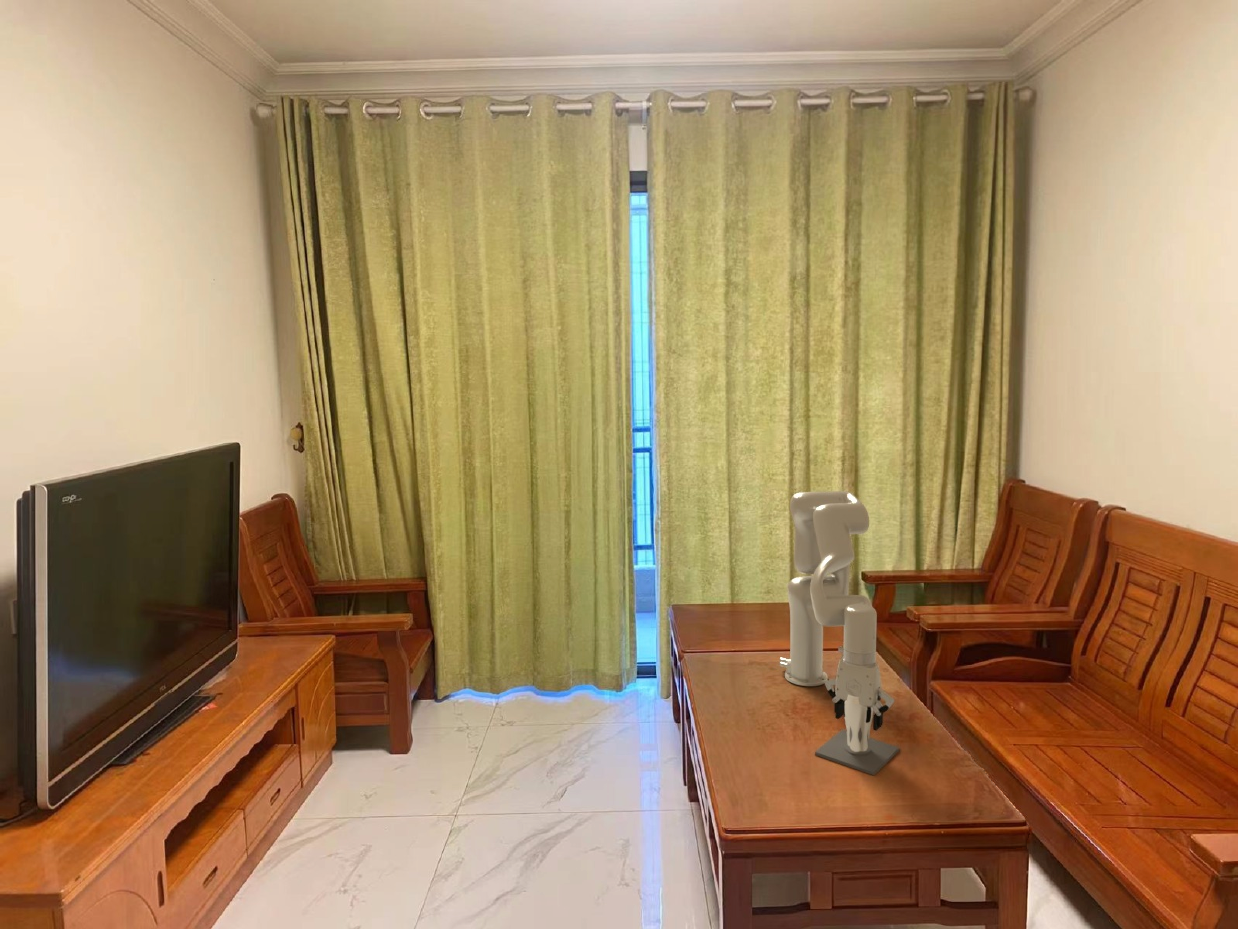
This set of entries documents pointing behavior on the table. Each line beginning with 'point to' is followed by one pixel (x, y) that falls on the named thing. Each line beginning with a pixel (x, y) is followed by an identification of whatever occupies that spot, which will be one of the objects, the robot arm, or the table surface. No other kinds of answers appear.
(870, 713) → the beer glass
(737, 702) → the table surface
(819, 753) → the charcoal mat
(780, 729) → the table surface
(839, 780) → the table surface
